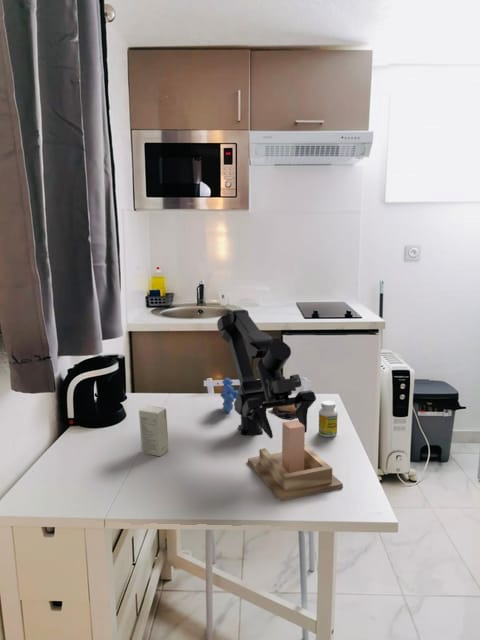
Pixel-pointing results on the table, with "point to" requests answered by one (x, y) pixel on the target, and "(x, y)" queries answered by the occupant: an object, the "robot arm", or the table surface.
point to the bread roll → (285, 412)
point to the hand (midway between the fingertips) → (288, 434)
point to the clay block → (293, 446)
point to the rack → (294, 475)
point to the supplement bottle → (328, 419)
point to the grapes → (228, 394)
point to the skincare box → (153, 430)
